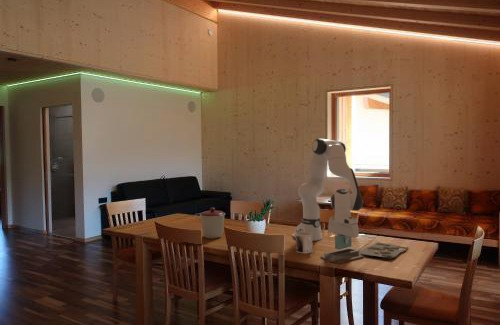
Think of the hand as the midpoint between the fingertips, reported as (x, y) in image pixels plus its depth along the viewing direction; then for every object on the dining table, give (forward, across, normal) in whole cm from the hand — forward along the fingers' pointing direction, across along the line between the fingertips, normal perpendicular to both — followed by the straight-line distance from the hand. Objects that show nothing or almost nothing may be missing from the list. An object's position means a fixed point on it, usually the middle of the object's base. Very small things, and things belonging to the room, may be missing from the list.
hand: (343, 242), depth 223 cm
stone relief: (+10, +6, +28) cm, 30 cm away
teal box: (+3, 0, 0) cm, 3 cm away
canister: (+8, -89, -37) cm, 96 cm away
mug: (+9, -22, -9) cm, 26 cm away
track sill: (+9, 0, 0) cm, 9 cm away
